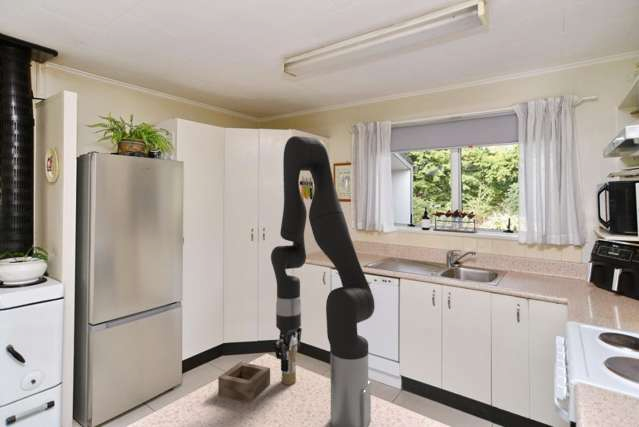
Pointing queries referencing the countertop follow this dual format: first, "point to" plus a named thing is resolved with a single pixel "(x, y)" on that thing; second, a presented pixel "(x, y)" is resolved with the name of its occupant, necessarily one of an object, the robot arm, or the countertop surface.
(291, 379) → the sprinkles bottle
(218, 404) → the countertop surface
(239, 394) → the frame
